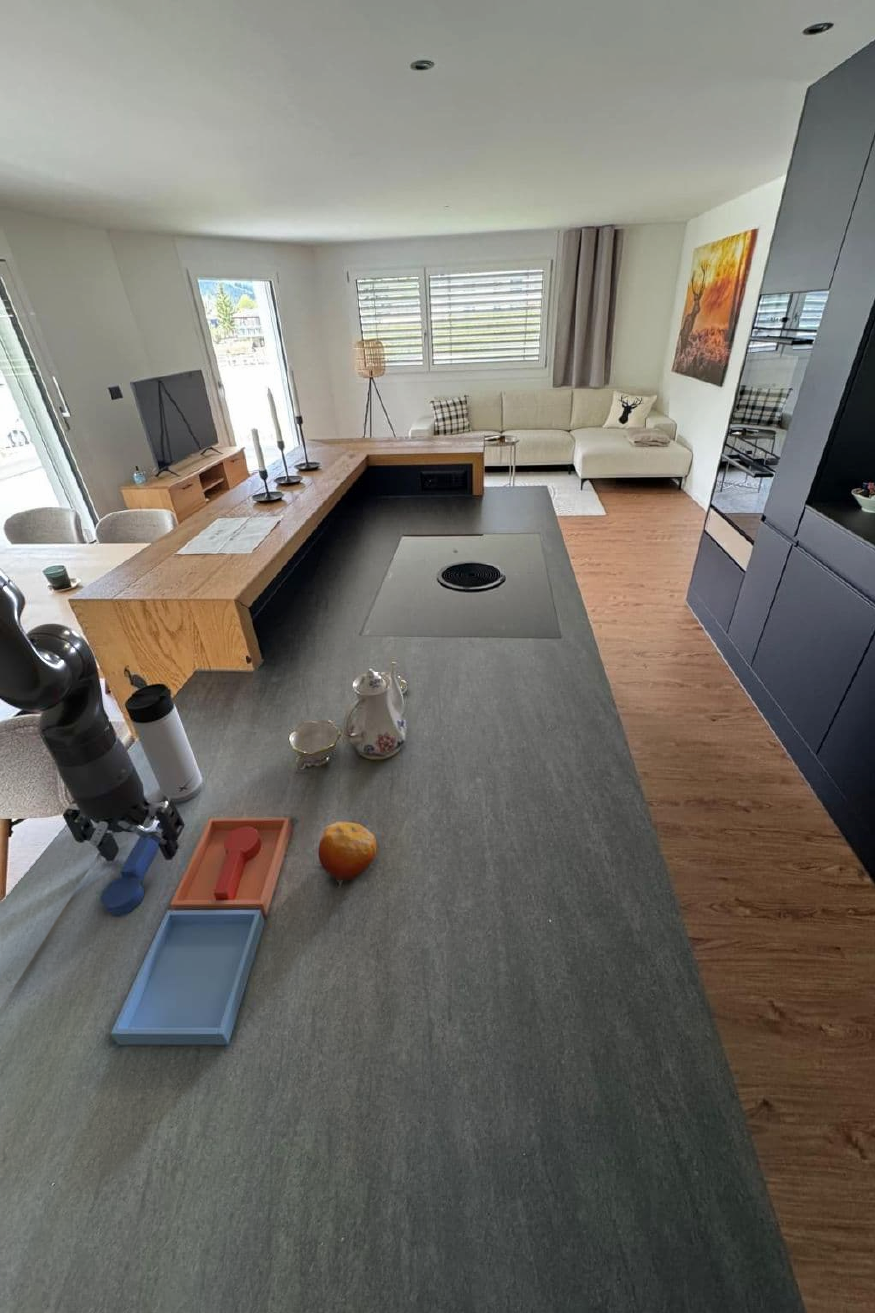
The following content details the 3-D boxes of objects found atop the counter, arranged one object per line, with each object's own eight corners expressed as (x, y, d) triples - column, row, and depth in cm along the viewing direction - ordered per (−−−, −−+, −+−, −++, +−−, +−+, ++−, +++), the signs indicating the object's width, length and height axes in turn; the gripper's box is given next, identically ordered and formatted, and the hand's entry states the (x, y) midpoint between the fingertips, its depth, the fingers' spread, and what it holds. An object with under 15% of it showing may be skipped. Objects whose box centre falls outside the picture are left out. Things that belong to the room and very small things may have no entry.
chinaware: (377, 692, 116) (361, 621, 107) (446, 708, 107) (435, 632, 99) (283, 779, 96) (255, 699, 87) (359, 807, 87) (336, 722, 79)
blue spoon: (139, 844, 83) (133, 830, 81) (171, 843, 83) (165, 830, 81) (98, 916, 73) (90, 902, 72) (134, 916, 73) (126, 902, 72)
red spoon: (243, 906, 73) (238, 892, 72) (207, 907, 73) (201, 894, 72) (264, 834, 83) (260, 821, 81) (232, 836, 83) (227, 822, 81)
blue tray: (118, 1044, 60) (109, 1034, 59) (172, 921, 72) (166, 910, 71) (228, 1045, 60) (222, 1034, 59) (265, 921, 72) (260, 909, 71)
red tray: (175, 916, 73) (169, 904, 72) (213, 829, 85) (209, 818, 84) (266, 915, 73) (262, 904, 71) (292, 828, 84) (289, 817, 83)
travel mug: (197, 803, 90) (159, 705, 79) (157, 803, 90) (113, 706, 79) (211, 775, 95) (177, 679, 84) (173, 775, 95) (134, 680, 84)
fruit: (297, 869, 77) (314, 817, 75) (339, 856, 83) (355, 809, 82) (333, 904, 72) (352, 850, 71) (375, 888, 78) (393, 838, 77)
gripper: (167, 751, 73) (201, 833, 82) (62, 754, 74) (107, 835, 83) (141, 794, 67) (180, 877, 76) (26, 797, 68) (79, 879, 76)
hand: (142, 855), depth 79 cm, fingers open, 8 cm apart
